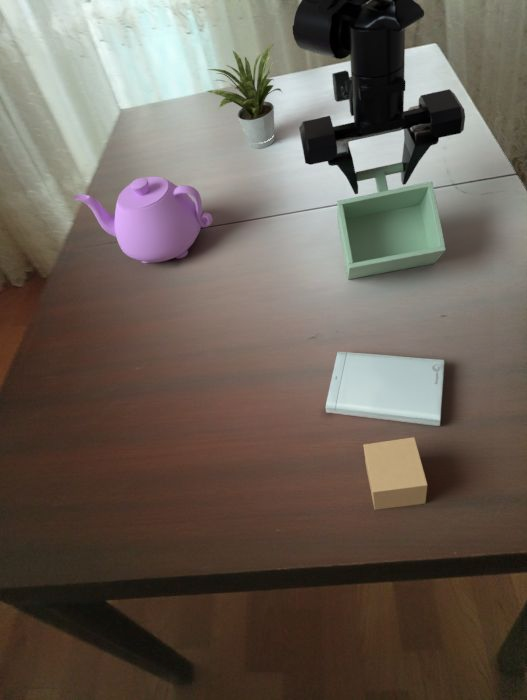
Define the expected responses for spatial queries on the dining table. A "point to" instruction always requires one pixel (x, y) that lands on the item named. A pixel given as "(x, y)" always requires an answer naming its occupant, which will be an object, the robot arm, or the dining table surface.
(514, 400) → the dining table surface
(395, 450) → the tan cardboard cube
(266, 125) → the house plant
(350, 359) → the hard drive
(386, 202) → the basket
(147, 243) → the teapot
